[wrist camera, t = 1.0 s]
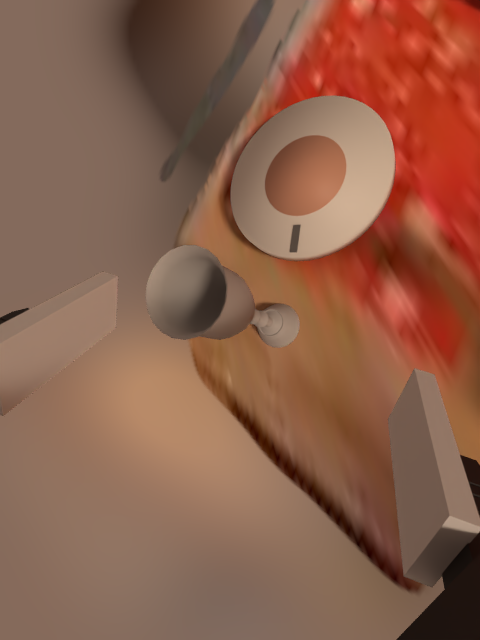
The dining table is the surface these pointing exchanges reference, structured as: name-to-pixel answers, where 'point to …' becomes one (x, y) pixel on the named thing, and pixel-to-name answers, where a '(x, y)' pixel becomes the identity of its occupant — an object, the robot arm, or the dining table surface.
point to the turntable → (313, 178)
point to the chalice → (210, 300)
